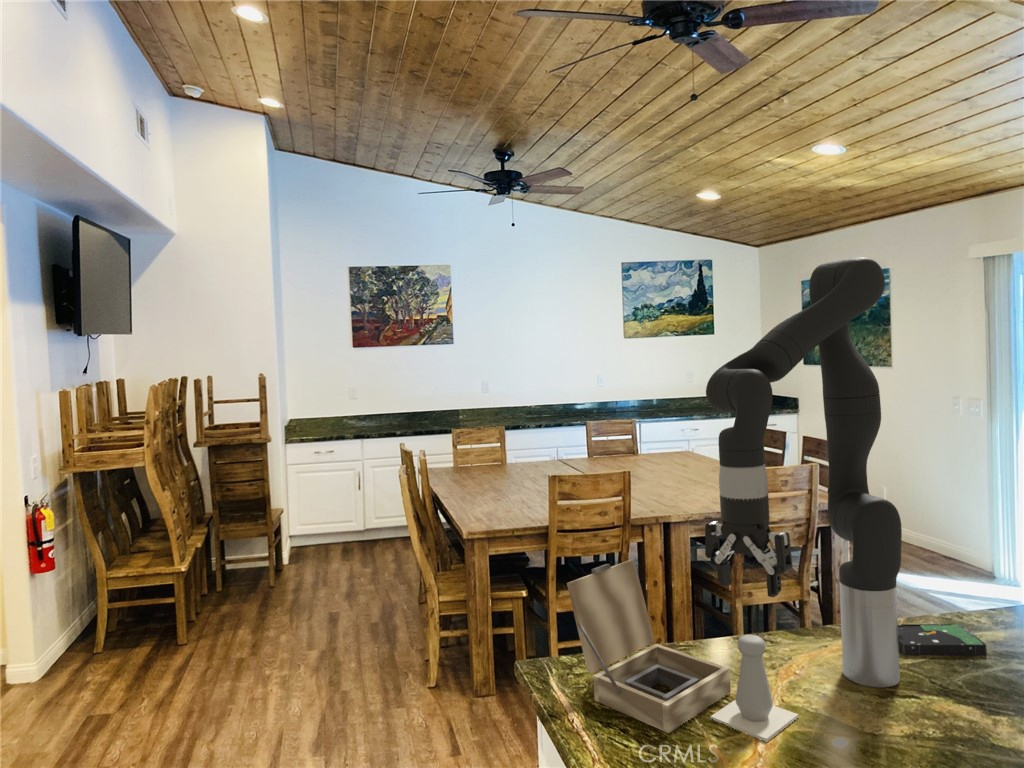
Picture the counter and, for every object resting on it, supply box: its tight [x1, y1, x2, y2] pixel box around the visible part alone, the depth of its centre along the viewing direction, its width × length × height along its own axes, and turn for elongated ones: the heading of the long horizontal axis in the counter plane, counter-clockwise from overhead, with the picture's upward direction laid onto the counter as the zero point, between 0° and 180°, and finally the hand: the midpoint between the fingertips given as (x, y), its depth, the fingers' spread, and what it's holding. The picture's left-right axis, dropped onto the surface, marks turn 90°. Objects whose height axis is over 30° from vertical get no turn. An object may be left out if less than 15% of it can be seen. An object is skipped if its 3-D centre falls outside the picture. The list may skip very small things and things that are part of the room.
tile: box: [710, 699, 799, 743], centre depth 117 cm, size 10×10×1 cm
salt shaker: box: [734, 634, 774, 722], centre depth 116 cm, size 6×6×13 cm
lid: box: [566, 558, 656, 674], centre depth 133 cm, size 18×17×1 cm
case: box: [576, 622, 732, 734], centre depth 126 cm, size 19×18×14 cm
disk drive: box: [898, 623, 988, 657], centre depth 140 cm, size 10×3×15 cm
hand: (748, 590), depth 116 cm, fingers open, 8 cm apart
